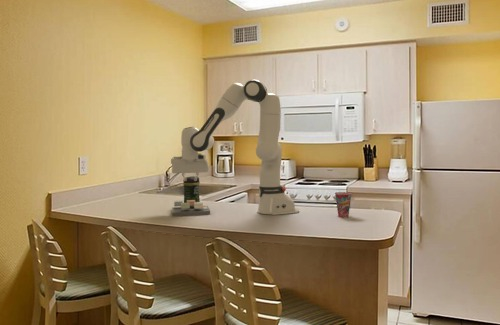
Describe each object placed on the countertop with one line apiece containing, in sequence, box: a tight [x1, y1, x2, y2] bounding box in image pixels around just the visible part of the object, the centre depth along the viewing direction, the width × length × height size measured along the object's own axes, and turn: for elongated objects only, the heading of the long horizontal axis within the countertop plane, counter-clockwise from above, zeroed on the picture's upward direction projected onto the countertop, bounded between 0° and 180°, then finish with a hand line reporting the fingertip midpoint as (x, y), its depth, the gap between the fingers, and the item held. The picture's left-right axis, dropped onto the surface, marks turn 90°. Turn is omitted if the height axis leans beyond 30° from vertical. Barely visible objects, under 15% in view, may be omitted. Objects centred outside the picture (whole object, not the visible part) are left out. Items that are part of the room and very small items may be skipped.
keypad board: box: [171, 205, 211, 217], centre depth 244 cm, size 20×18×2 cm
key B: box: [180, 202, 190, 209], centre depth 239 cm, size 4×4×2 cm
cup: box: [334, 191, 355, 219], centre depth 223 cm, size 9×8×12 cm
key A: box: [194, 201, 204, 208], centre depth 240 cm, size 4×4×2 cm
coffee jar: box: [182, 175, 201, 207], centre depth 259 cm, size 10×8×19 cm
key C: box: [187, 200, 195, 206], centre depth 248 cm, size 4×4×2 cm
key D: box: [173, 200, 184, 207], centre depth 247 cm, size 4×4×2 cm
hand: (190, 180), depth 247 cm, fingers open, 4 cm apart
